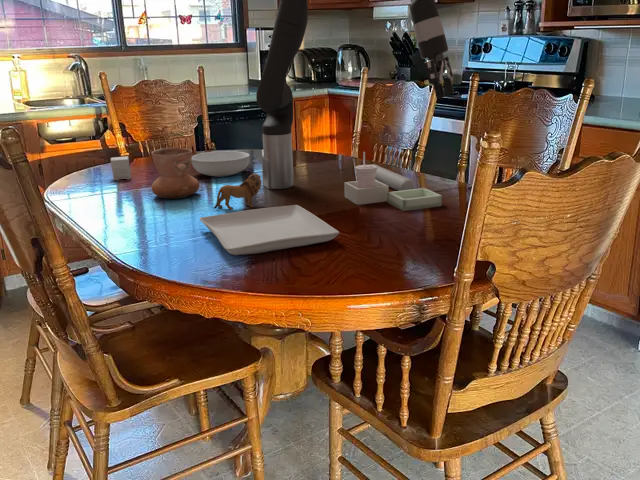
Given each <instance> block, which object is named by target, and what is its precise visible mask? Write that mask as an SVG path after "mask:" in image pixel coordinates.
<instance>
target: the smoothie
mask: <svg viewBox="0 0 640 480" xmlns="http://www.w3.org/2000/svg"><path fill="white" fill-rule="evenodd" d="M362 154H363V155H362V156H363V157H362V162H363V164H359V165H356V166H355V167H354V168H355V169H354V171H355V172H356V181H358V188H359V189H360V188H368V187H374V182H375V174H376V171H377V166H374V165H370V164H366V152H365V151H363V152H362Z"/></svg>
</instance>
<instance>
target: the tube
mask: <svg viewBox="0 0 640 480" xmlns="http://www.w3.org/2000/svg"><path fill="white" fill-rule="evenodd" d="M369 165H374V166H377V171H376V174H375V180H377V181H379V182H381V183H383V184H386V185H388V186H389V188H391V189H393V190H394V191H397V190H398V191H402V190H411V189H415V182H414V181H413V180H412V179H410V178H408V177H406V176H404V175H403V174H402V175H401V174H399V173H396V172H393V170H389V169H388V168H384V167H383V166H379V165H378V164H377V163H373V164H369Z"/></svg>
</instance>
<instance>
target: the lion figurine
mask: <svg viewBox="0 0 640 480" xmlns="http://www.w3.org/2000/svg"><path fill="white" fill-rule="evenodd" d="M261 186H262V179H261V176H260V175H259V174H256V173H252V174H250V175H248V178H247V179H246V180H243V182H242V183H241V184H237V185H232V184H225V185H223V186H221V187H220V188H219V189H218V192H217V195H216V196H217V197H216V204H215V206H214V207H213V209H217V207H218V208H219V207H222V208H223V205H222V204H221V203H222V202H224V200H225V203H224V205H225V206H226V208H227V209H228V210H233V209H234V208H233V206H230V200H231V197H232V198H236V199H241V198H243V199H244V204H245V205H246V206H248V207H249V208H254V206H255V205H254V204H252V201H253V197H254V196H256V195H257V194H258V193H259V191H260V189H261Z"/></svg>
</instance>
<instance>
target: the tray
mask: <svg viewBox="0 0 640 480" xmlns="http://www.w3.org/2000/svg"><path fill="white" fill-rule="evenodd" d="M442 201H443V195H441V194H439V193H437V192H434V191H433V190H430V189H428V188H426V187H421V188H414V189H411V190H402V191H397V190H394V191H388V192H387V201H386V202H387V204H389V205H392V206H393V207H395V208H397V209H399V210H400V211H402V212H405V211H413V210H415V211H416V210H421V209H429V208H438V207H442V204H443V203H442Z"/></svg>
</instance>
